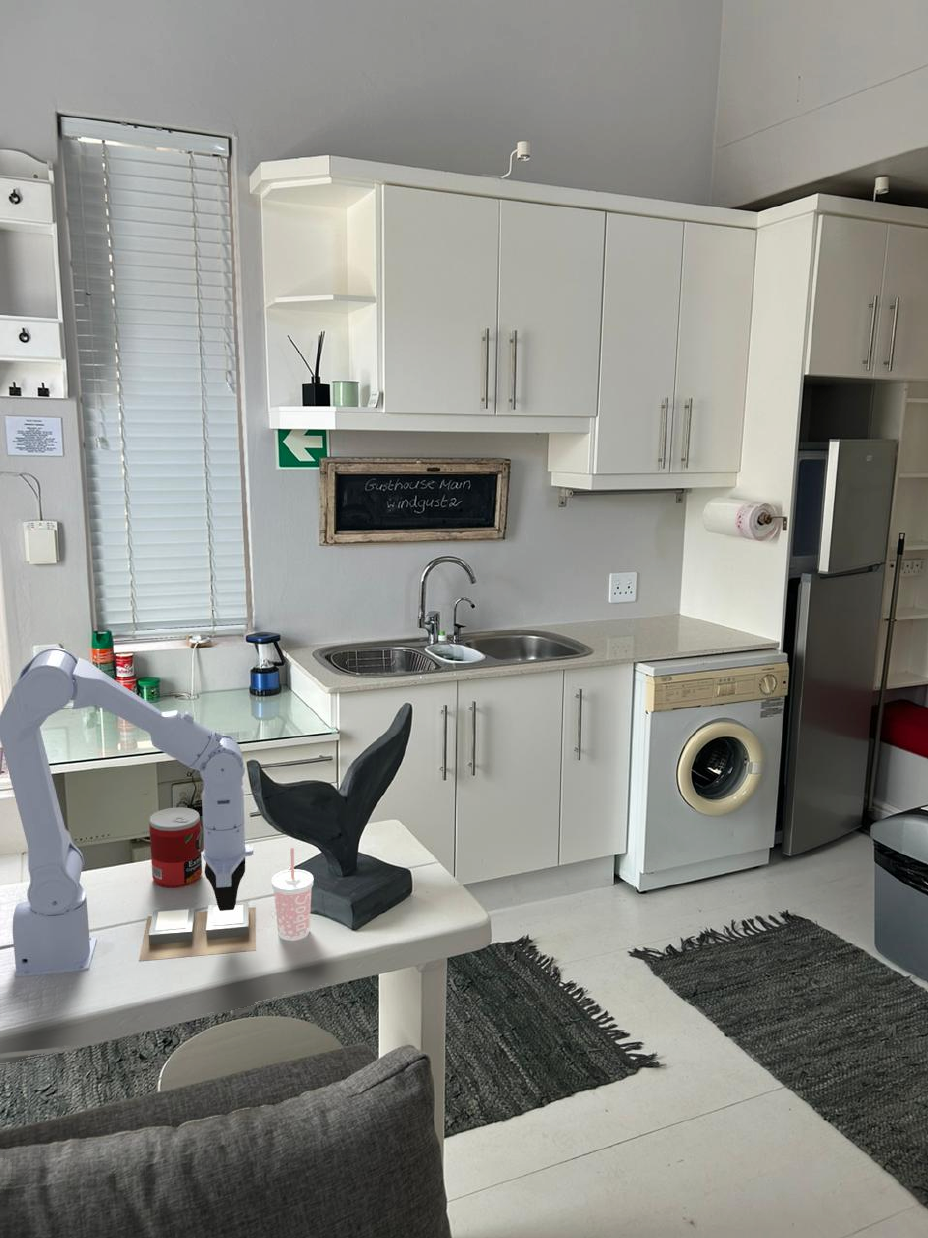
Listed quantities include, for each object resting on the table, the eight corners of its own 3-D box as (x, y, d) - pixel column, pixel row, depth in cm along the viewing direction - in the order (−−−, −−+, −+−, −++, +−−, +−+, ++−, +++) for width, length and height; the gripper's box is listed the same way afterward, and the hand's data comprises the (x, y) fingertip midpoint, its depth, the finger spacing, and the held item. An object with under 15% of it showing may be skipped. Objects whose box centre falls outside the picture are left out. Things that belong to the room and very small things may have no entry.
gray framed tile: (206, 929, 140) (208, 905, 147) (206, 940, 141) (208, 915, 147) (248, 926, 142) (248, 901, 148) (248, 936, 142) (248, 911, 149)
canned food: (195, 891, 155) (192, 828, 152) (145, 889, 155) (141, 826, 153) (208, 868, 162) (205, 807, 160) (161, 866, 163) (157, 806, 160)
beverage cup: (278, 949, 140) (276, 860, 136) (268, 928, 145) (266, 842, 142) (319, 940, 142) (318, 853, 139) (308, 920, 147) (307, 835, 144)
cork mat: (138, 963, 135) (138, 961, 135) (147, 918, 147) (147, 916, 147) (255, 952, 139) (255, 950, 138) (255, 909, 150) (255, 907, 150)
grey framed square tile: (148, 934, 139) (153, 909, 145) (149, 945, 139) (153, 919, 146) (191, 931, 140) (194, 906, 147) (192, 941, 140) (195, 916, 147)
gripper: (252, 842, 132) (255, 932, 135) (252, 799, 145) (254, 881, 149) (198, 846, 130) (202, 937, 133) (204, 802, 144) (207, 885, 147)
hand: (226, 908), depth 141 cm, fingers closed
